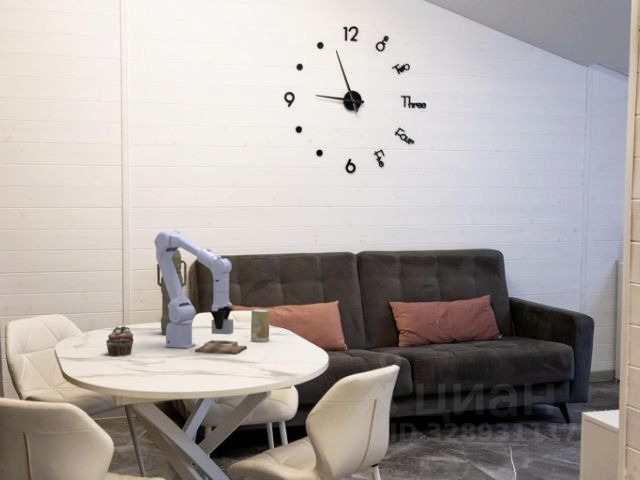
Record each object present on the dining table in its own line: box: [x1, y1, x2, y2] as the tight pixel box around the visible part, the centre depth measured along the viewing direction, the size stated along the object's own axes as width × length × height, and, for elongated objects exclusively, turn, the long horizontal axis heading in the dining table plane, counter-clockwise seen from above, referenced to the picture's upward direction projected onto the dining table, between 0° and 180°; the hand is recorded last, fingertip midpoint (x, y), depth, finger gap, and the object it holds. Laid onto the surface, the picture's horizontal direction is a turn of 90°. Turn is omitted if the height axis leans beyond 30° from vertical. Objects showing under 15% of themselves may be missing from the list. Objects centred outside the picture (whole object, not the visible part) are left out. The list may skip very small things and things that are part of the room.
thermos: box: [156, 248, 188, 336], centre depth 350 cm, size 9×12×35 cm
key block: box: [211, 318, 234, 335], centre depth 315 cm, size 4×7×5 cm, turn 77°
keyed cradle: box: [194, 339, 248, 355], centre depth 315 cm, size 16×12×3 cm
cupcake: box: [105, 325, 134, 357], centre depth 307 cm, size 10×10×10 cm
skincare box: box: [250, 309, 271, 343], centre depth 336 cm, size 6×4×12 cm
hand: (221, 328), depth 315 cm, fingers closed on key block, 4 cm apart
